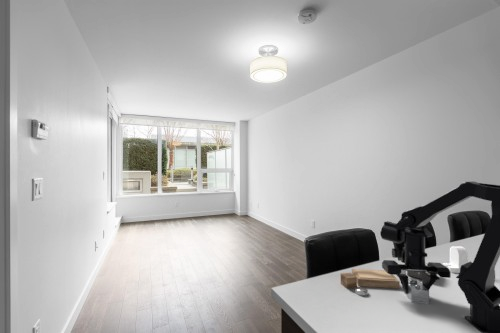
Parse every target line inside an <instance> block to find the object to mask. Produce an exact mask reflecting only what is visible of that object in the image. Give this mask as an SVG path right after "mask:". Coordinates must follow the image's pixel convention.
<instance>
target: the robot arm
mask: <svg viewBox="0 0 500 333" xmlns="http://www.w3.org/2000/svg"><path fill="white" fill-rule="evenodd" d="M472 197H474V198H477V199H481V200H484V201H488V202H491V204H490V206H491V207H490V208H491V217H490V220H489V222H488V225H487V228H486V230H485V233H484V235H483V237H482V239H481V242H480V243H479V247H478V249H477V253H476V254H475V256H474V259H473V262H472V261H468V263H466V264H464V265H461V268H460V273H458V275H456V277H455V278H456V279H457V285H458V287H459V289H460V290H461V291H462V292H463V294H464V296H465V298H466V301H467V304H468V305H469V315H464V319H465V320H466V321H468V322H469V323H470V324H471V325H472V326H474V327H475V328H476V329H477V330H478V331H480V332H481V333H500V289H499V288H498V287H496V285H495V284H496V283H495V282H496V270H495V269H496V265H497V263H498V261H499V258H500V185H499V184H492V183H491V184H490V183H482V182H477V181H463V182H462V183H461V184H460V185H458V186H456V187H454V188H453V189H450V190H449V191H447V192H446V193H444V194H442V195H440V196H439V197H437V198H435V199H433V200H431V201H429V202H428V203H426V204H423V205H420V206H417V207H415V208H411V209H408V210H405V211H403V212H402V213H401V218H400V219H399V221H397V223H395V222H392V221H388V220H387V221H383V225H382V228H381V230H380V236H381V239H382V240H384V241H387V242H392V243H395V244H399V245H400V244H402V243H404V246H403V247H402V251H401V250H400V249H399V248H393V247H392V248H391V257H392V258H395V259H396V258H397V260H398V261H399V262H401V263H402V264H401V263H398V262H397V261H396V260H391V259H387V260H386V259H383V260H382V262H381V268H382V269H383V271H386V272H387V273H388V274H392V275H394V276H397V277H398V278H399V279H398V280H399V282H400V283H401V288H402V287H403V290H404V292H405V293H406V294H407V293H408V279H409V275H407V273H406V272H407V271H420V272H421V273H422V279H421V280H422V281H421V283H422V284H423V285H424V286H425V287H426V288H427V289H428V290H429V291H430V290H431V288H432V286H433V285H434V284H435V282H436V281H437V280H440V279H441V278H448V279H450V278H452V277H451V275H452V274H451V272H450V270H449V269H448V268H447V267H446V266H444V265H443V263H441V262H433V261H431V262H430V261H429V262H427V266H426V265H425V263H426V258H428V253H427V252H426V238H429V237H432V236H434V235H433V233H432V232H430V231H429V230H428V229H427V227H426V228H422V229H418V228H420V227H423V226H426V225H428V223H430V222H431V221H432V220H434V218H435V217H436V216H437V215H439V214H440V213H441V214H442V213H443V212H444V211H446V210H448V209H450V208H452V207H454V206H456V205H459V204H461V203H463V202H464V201H466V200H468V199H470V198H472ZM404 292H403V293H404ZM405 293H404V294H405Z"/></svg>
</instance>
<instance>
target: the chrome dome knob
mask: <svg viewBox="0 0 500 333" xmlns="http://www.w3.org/2000/svg"><path fill="white" fill-rule="evenodd" d="M368 292H369V291H368V289H367V288H365V287H364V286H357V287H356V288H354V293H355V294H356V295H358V296H361V297H366V296H368Z"/></svg>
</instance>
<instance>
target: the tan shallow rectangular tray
mask: <svg viewBox="0 0 500 333" xmlns="http://www.w3.org/2000/svg"><path fill="white" fill-rule="evenodd" d="M351 273H352V274H353V275H354V276H356V277H357V287H373V288H387V289H388V288H389V289H400V280H399V279H398V278H397V277H396V275H392V274H388V273H387V272H386V271H385V270H375V269H361V268H360V269H359V268H352V269H351Z"/></svg>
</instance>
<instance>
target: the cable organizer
mask: <svg viewBox="0 0 500 333" xmlns="http://www.w3.org/2000/svg"><path fill="white" fill-rule="evenodd" d="M468 257H469V255H468V251H467V249H466V248H465V247H464V246H459V245H458V246H453V245H452V246H450V248H449V262H448V263H447V262H443V263H442V265H444V266H446V267H447V268H448V269H449V270H450V272H451V273H452V274H459V273H460V268H461V265H464V264H466V263H468V262H469V260H468V259H469V258H468Z"/></svg>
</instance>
